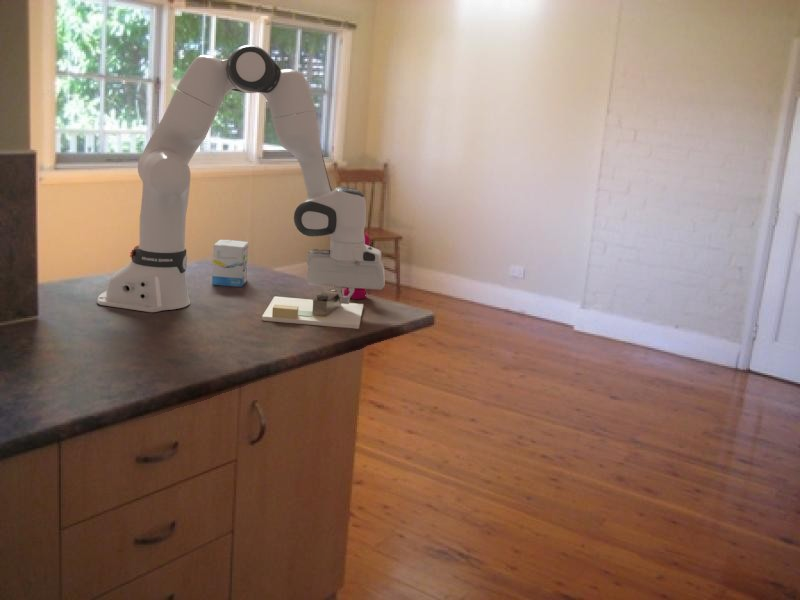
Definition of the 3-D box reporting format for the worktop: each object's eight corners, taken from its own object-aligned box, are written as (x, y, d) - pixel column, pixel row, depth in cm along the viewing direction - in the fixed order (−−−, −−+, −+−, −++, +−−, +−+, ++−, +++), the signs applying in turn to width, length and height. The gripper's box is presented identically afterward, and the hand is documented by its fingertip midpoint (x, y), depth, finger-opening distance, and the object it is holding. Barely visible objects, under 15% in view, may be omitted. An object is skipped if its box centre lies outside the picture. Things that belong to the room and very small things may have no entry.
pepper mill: (364, 300, 243) (369, 229, 238) (339, 297, 244) (344, 226, 239) (370, 295, 250) (375, 225, 244) (345, 291, 251) (350, 222, 246)
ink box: (241, 287, 245) (243, 246, 242) (211, 285, 245) (212, 244, 242) (247, 280, 254) (249, 241, 251) (218, 278, 253) (219, 238, 251)
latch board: (261, 320, 216) (262, 306, 215) (274, 299, 235) (275, 287, 235) (358, 328, 216) (359, 315, 215) (363, 307, 236) (364, 295, 235)
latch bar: (325, 316, 219) (327, 298, 218) (312, 314, 220) (313, 296, 219) (342, 303, 233) (344, 286, 232) (330, 301, 234) (331, 284, 232)
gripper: (305, 250, 222) (303, 303, 225) (385, 256, 221) (382, 309, 225) (308, 246, 228) (306, 297, 231) (386, 251, 227) (383, 302, 231)
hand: (344, 303), depth 228 cm, fingers closed
